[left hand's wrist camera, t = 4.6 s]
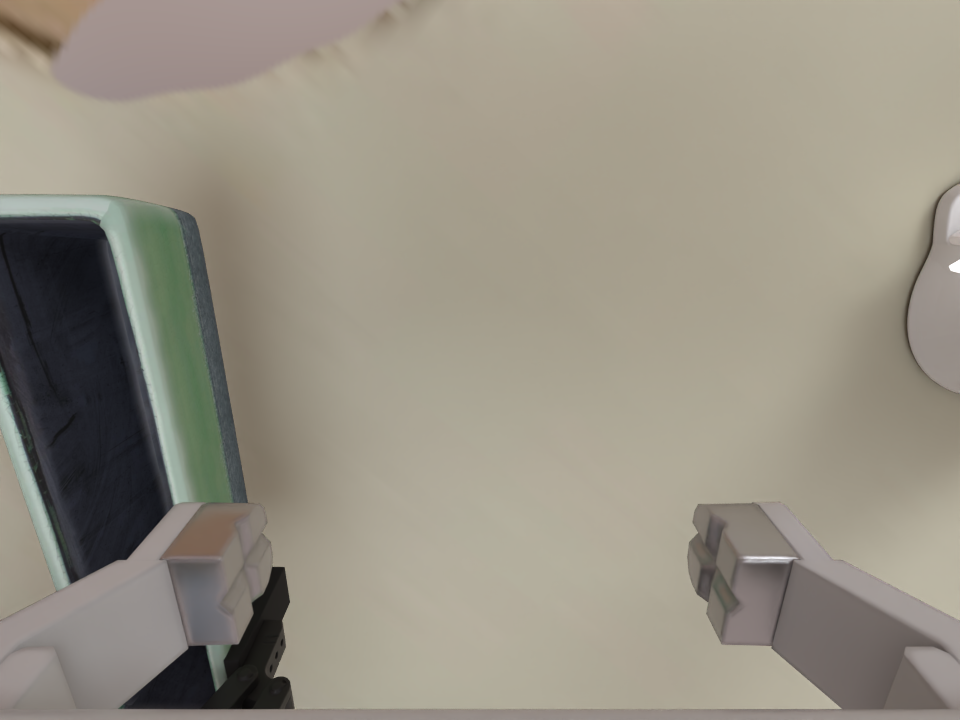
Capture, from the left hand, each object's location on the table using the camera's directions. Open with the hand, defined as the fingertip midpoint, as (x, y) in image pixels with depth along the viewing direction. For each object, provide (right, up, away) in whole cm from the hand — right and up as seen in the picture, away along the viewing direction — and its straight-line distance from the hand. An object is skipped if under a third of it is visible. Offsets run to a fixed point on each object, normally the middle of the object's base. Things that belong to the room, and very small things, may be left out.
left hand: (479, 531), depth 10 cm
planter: (-16, -1, +20) cm, 26 cm away
